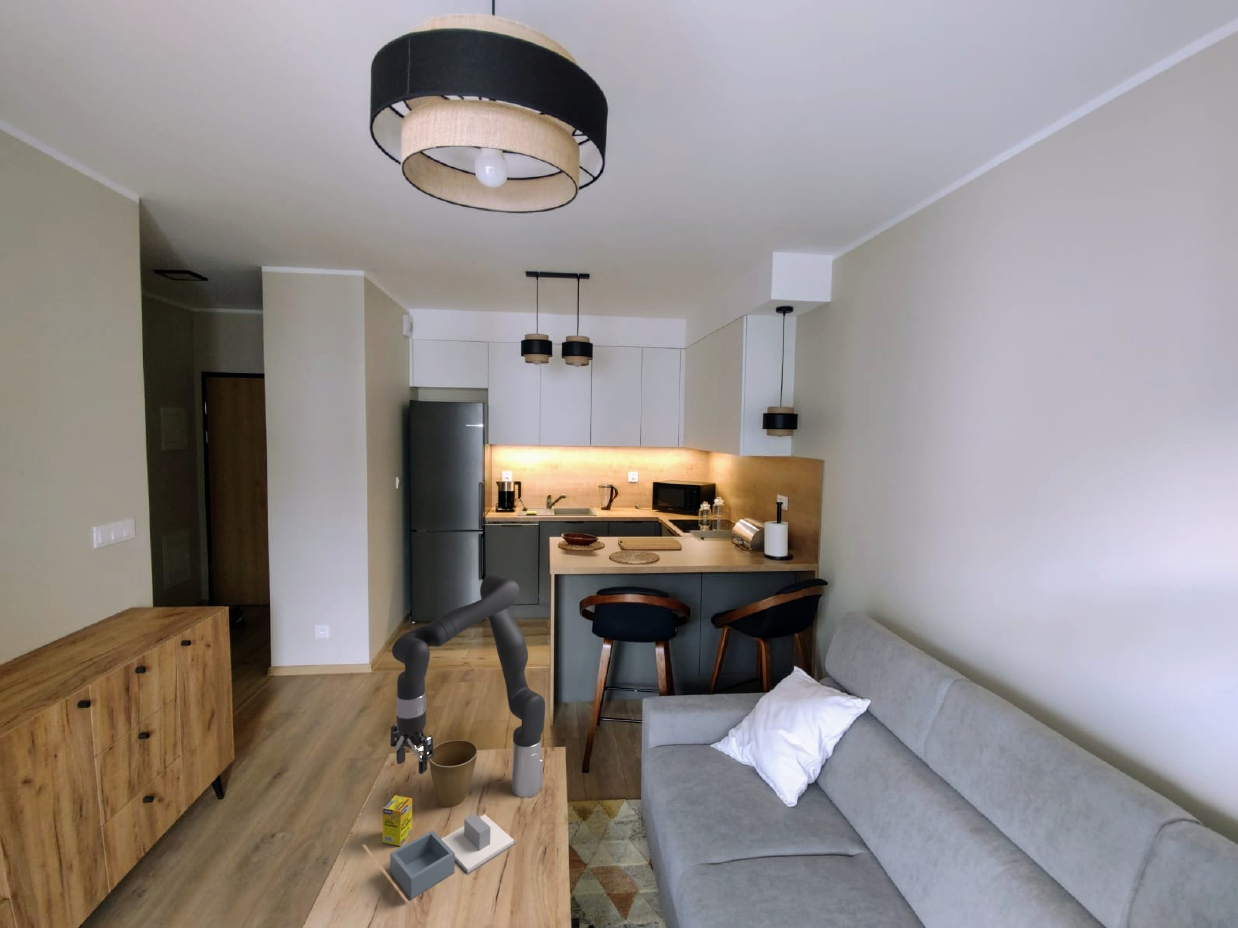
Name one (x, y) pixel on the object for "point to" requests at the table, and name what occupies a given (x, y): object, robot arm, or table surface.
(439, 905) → the table surface
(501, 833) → the lid
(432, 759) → the plant pot
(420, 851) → the grey storage bin
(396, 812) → the supplement box
